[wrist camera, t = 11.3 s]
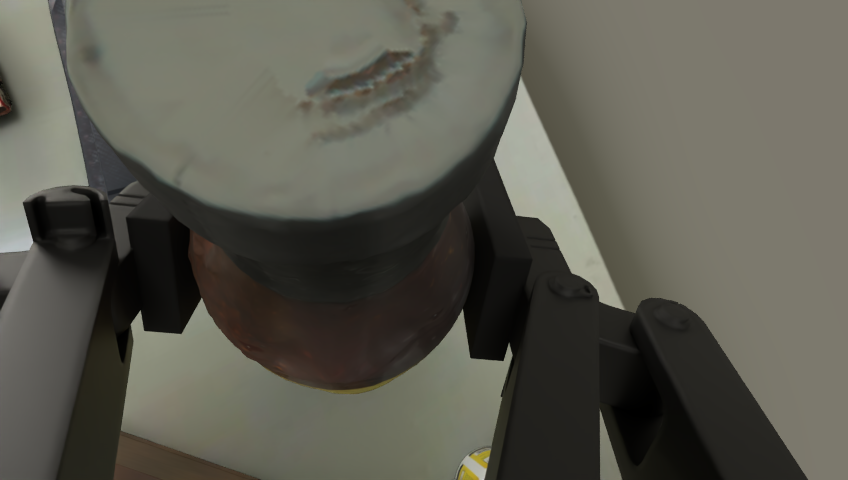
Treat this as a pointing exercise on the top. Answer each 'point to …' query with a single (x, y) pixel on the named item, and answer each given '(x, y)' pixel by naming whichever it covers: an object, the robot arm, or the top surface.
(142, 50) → the sauce bottle
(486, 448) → the supplement bottle
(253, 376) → the top surface
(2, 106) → the race car
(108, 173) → the wallet
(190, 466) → the open wooden crate
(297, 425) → the top surface
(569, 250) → the top surface
